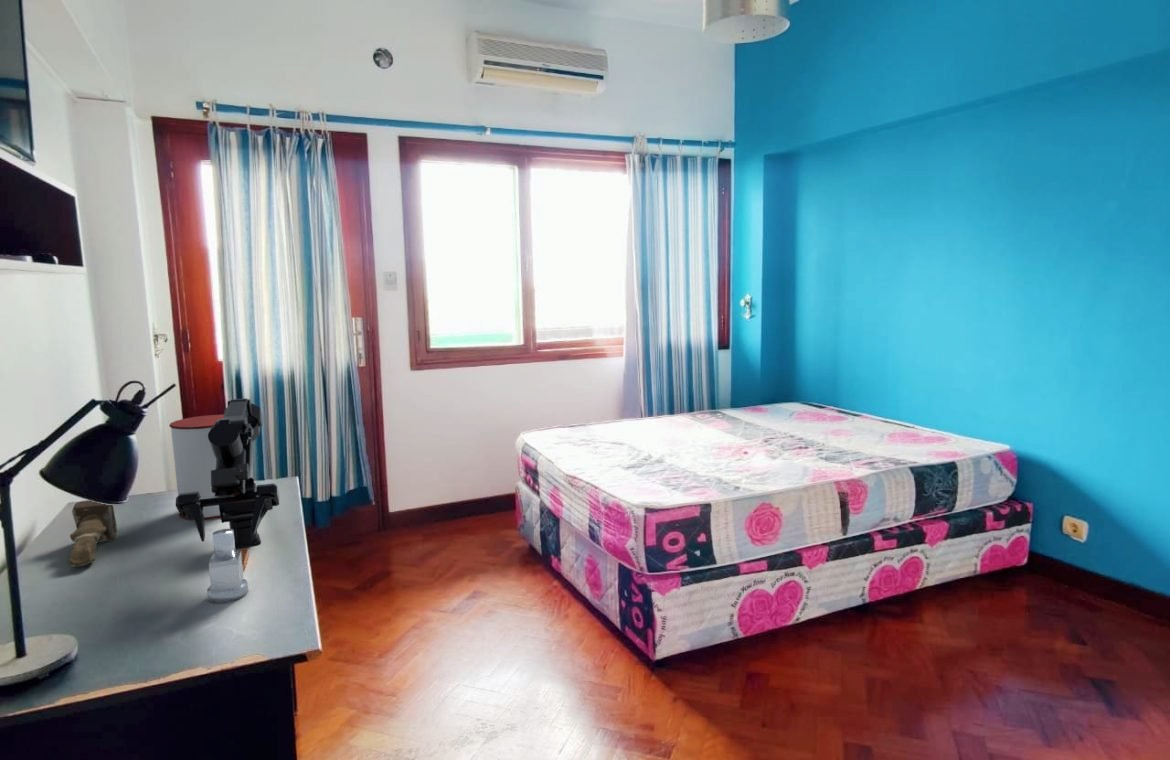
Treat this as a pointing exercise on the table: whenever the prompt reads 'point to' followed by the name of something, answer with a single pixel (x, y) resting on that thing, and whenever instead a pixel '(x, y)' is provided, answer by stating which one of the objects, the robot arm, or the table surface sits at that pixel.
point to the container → (195, 458)
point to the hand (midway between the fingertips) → (228, 537)
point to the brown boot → (91, 530)
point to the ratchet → (231, 594)
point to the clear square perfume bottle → (225, 563)
